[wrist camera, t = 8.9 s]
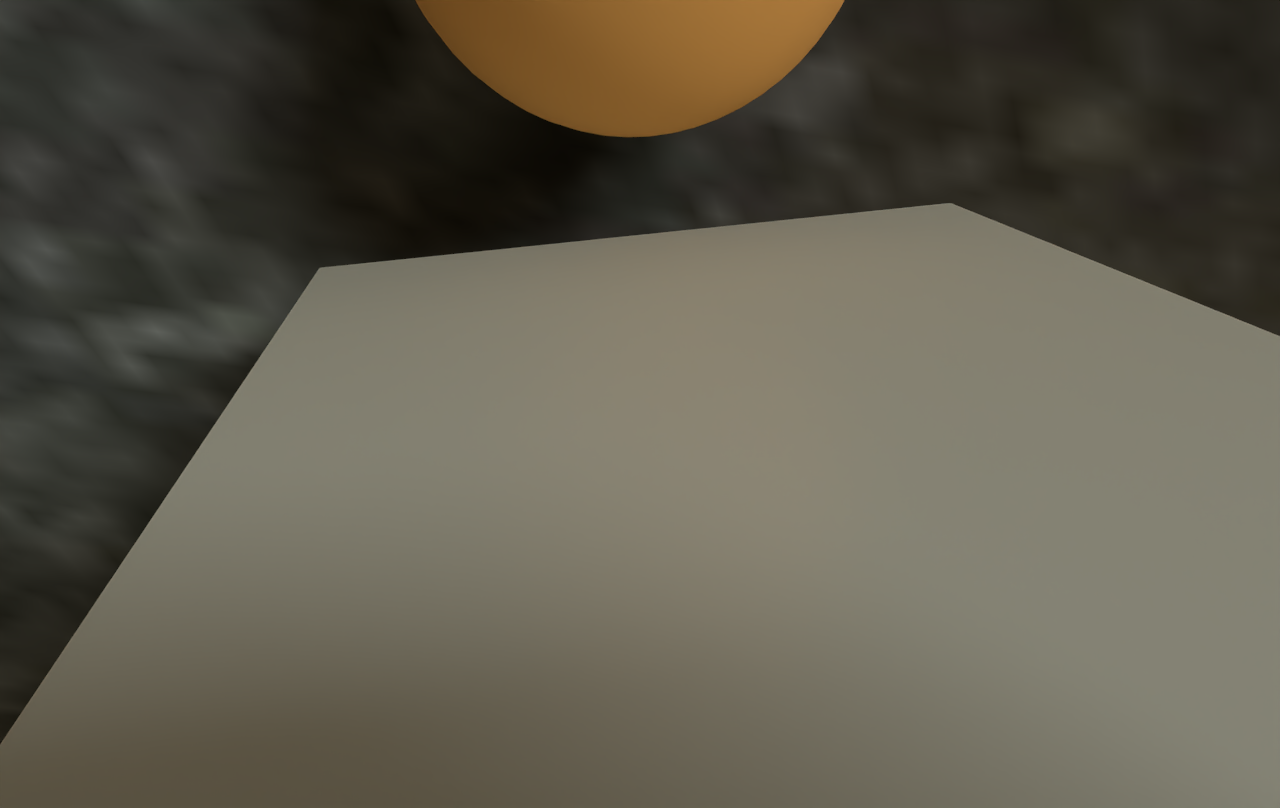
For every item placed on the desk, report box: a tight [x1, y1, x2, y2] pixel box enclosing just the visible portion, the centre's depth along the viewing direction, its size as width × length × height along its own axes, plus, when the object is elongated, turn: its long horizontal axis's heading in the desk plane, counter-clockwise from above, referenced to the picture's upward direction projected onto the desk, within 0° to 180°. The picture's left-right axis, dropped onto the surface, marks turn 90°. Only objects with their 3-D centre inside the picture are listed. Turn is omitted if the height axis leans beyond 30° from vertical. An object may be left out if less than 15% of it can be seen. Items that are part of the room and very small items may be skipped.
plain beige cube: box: [0, 203, 1280, 808], centre depth 8 cm, size 8×8×9 cm
